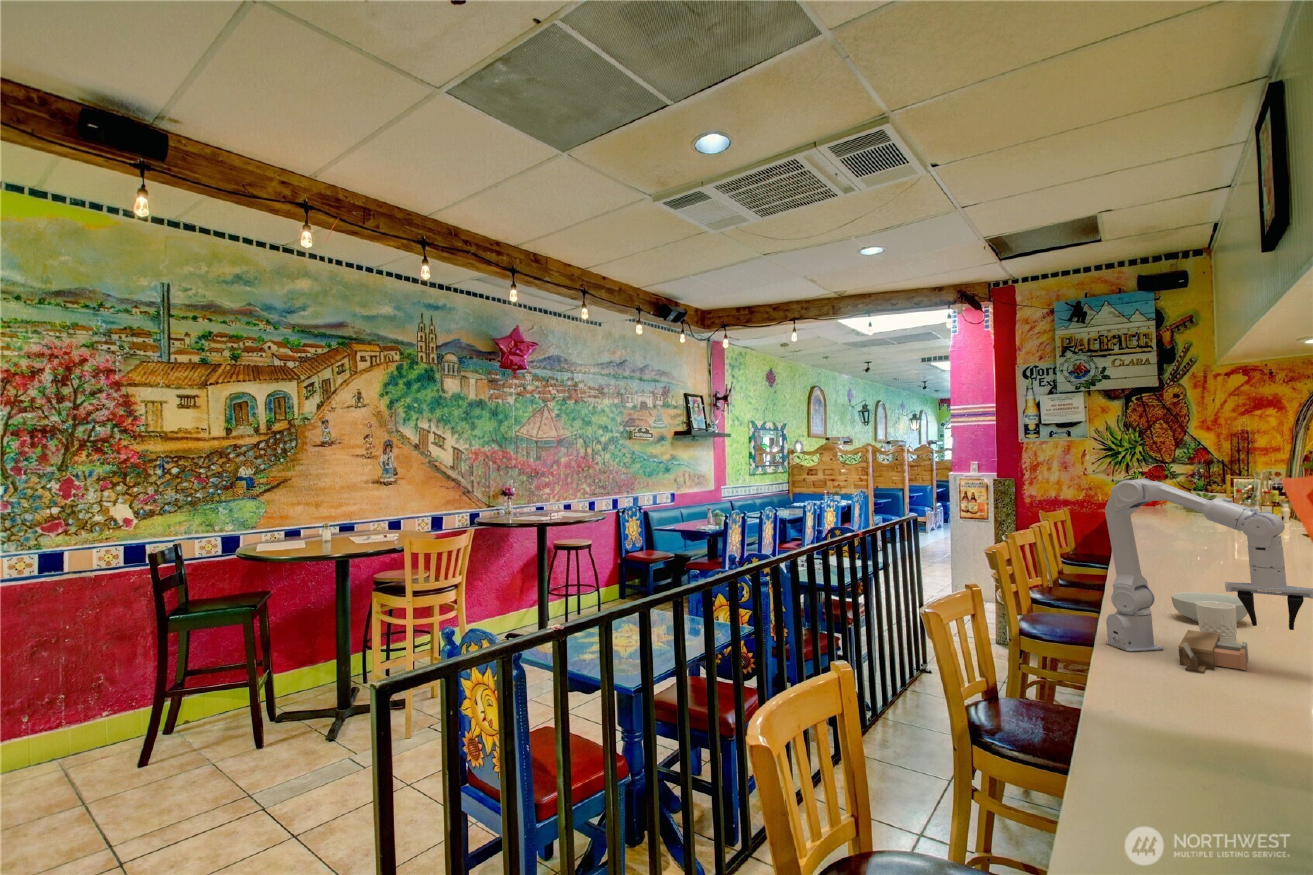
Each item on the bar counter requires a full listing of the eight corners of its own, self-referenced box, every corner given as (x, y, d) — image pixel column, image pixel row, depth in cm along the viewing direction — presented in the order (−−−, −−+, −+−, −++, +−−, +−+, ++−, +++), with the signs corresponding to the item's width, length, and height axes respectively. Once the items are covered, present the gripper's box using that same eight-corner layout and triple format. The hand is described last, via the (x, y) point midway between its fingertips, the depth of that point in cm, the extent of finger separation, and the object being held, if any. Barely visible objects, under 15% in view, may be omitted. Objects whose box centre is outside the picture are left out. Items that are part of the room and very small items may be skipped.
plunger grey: (1248, 658, 147) (1247, 642, 148) (1247, 662, 144) (1245, 646, 145) (1211, 653, 152) (1209, 637, 152) (1209, 657, 149) (1208, 641, 149)
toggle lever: (1199, 660, 143) (1187, 641, 144) (1198, 663, 141) (1186, 644, 142) (1194, 661, 143) (1182, 643, 145) (1193, 664, 142) (1181, 645, 143)
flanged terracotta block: (1247, 665, 142) (1245, 649, 143) (1245, 670, 140) (1244, 653, 140) (1208, 660, 147) (1207, 644, 148) (1206, 664, 144) (1205, 648, 145)
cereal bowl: (1161, 620, 184) (1159, 596, 185) (1191, 612, 191) (1188, 589, 192) (1233, 632, 169) (1230, 606, 169) (1262, 623, 176) (1259, 598, 176)
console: (1221, 651, 154) (1219, 633, 154) (1212, 674, 139) (1210, 654, 139) (1189, 647, 158) (1188, 629, 158) (1177, 669, 143) (1176, 649, 143)
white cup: (1247, 647, 156) (1243, 608, 156) (1211, 647, 157) (1208, 608, 158) (1225, 639, 164) (1222, 601, 164) (1191, 638, 165) (1188, 601, 166)
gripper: (1313, 566, 136) (1319, 628, 135) (1224, 561, 147) (1230, 618, 146) (1313, 571, 131) (1320, 635, 131) (1222, 565, 142) (1227, 624, 141)
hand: (1272, 627), depth 138 cm, fingers open, 5 cm apart
